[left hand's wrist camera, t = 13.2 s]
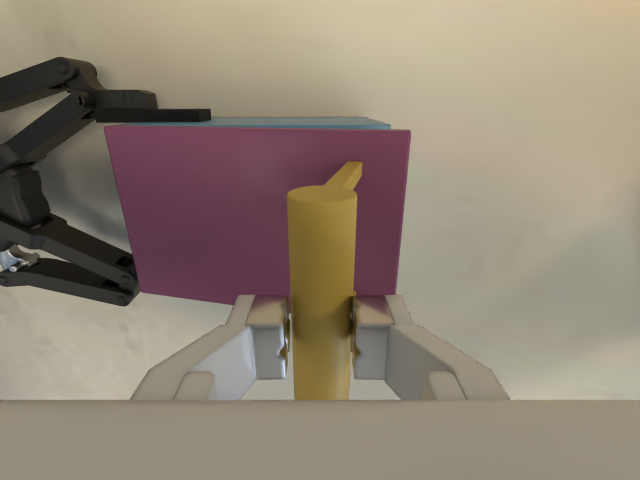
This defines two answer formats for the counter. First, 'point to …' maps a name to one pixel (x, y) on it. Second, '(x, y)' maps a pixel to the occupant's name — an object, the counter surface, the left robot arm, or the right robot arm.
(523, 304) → the counter surface
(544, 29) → the counter surface
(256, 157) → the lid
